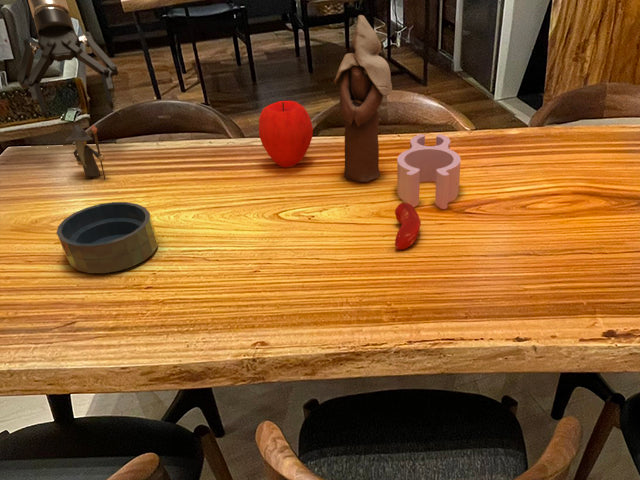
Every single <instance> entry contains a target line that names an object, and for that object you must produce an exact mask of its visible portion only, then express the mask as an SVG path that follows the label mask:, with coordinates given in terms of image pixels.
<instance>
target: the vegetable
mask: <svg viewBox="0 0 640 480" xmlns="http://www.w3.org/2000/svg"><path fill="white" fill-rule="evenodd" d="M394 215H395V217H396V218H395V219H396V220H397V222H398V223H399V224H400V225H401V226H400V228H399V229H398V231H397V233H396V235H395V240H394V248H395V249H396V250H406V249H407V248H409V247H411V246H412V245H414V243H415V242H416V240H417V238H418V235H419V231H420V228H421V225H422V221H421V218H420V216H419V213H418V212H417V210H416V208H415V207H413V206H412V205H410V204H408V203H406V202H401V203H398V205H397V206H396V208H395V210H394Z"/></svg>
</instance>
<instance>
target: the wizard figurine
mask: <svg viewBox="0 0 640 480" xmlns="http://www.w3.org/2000/svg"><path fill="white" fill-rule="evenodd" d="M90 130H91V131H92V135H93V137H92V136H90V135H89V134H88V133H87V131H86V130H85V129H84V128H82V127H81V126H80V124H74V126H73V129H72V132H71V135H70V136H69V137H66V138H65V140H64V142H65V143H70V142H74V146H75V150H74V151H73V152H72V154H73V156H74V157H75V160H76V161H77V164H78V166H82V168H83V173H84V176H85V179H87V180H90V179H91V178H92V179H93V180H96V179H99V176H100V175H101V172H102V175H103V180H106V176H105V175H106V174H105V170H104V164H103V162H104V161H105V156H104V155H103V154H102V153H101V150H100V143H99V139H98V134H97V133H98V128H97V127H96V126H95V125H94V124H92V125H91V127H90ZM93 140H94V143H95V147H96V150H97V151H96V150H95V149H93V148H92V147H91V146H89V145H88V144H87V142H89V141H93ZM96 159H97V160H99V162H100V163H99V164H100V168H101V171H100V168H99V166H98V164H97V161H96Z"/></svg>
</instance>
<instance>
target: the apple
mask: <svg viewBox="0 0 640 480" xmlns="http://www.w3.org/2000/svg"><path fill="white" fill-rule="evenodd" d="M313 133H314V128H313V122H312V119H311V117H310V114H309V112H308V111H307V110H306V108H305V107H304V106H303V105H302V104H300V103H299V102H297V101H294V100H280V101H276V102H273V103H271V104H268V105H266V106H265V107H264V108H263V109H262V110H261V112H260V115H259V117H258V137H259V139H260V143H261V145H262V147H263V148H264V149H265V151H266V153H267V154H268V156H269V157H270V159H271V160H272V161H273V162H274V163H275V165H277V166H279V167H280V168H291V167H294V166H295V165H298V164H299V163H300V162H301V161H302V160H303V159H304V157H305V155H306V153H307V151H308V149H309V148H310V146H311V143H312V139H313Z"/></svg>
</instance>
